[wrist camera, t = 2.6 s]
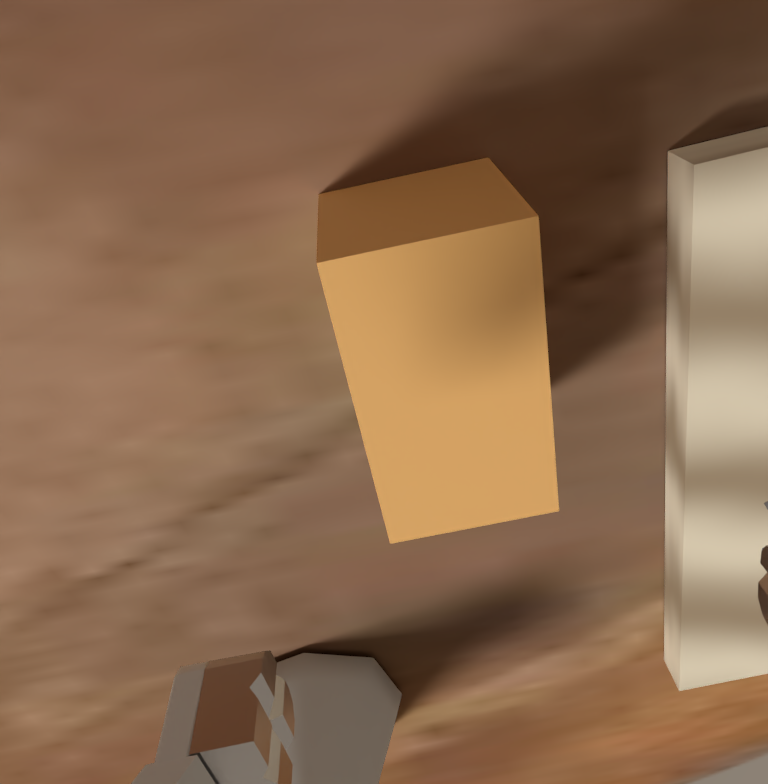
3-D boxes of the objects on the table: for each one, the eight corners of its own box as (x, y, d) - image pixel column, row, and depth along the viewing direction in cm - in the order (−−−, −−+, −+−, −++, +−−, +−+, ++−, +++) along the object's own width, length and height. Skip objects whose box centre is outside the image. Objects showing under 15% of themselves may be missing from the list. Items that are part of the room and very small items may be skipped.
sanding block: (318, 192, 18) (316, 263, 13) (487, 156, 17) (538, 216, 13) (377, 433, 22) (390, 543, 18) (513, 405, 22) (559, 511, 18)
